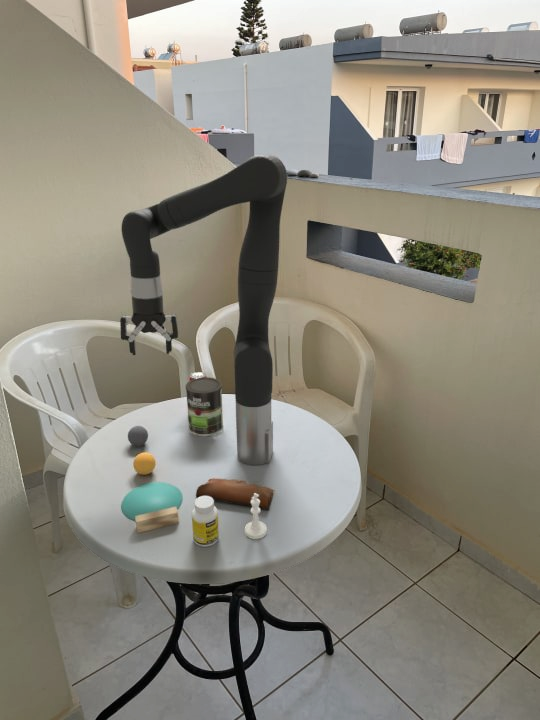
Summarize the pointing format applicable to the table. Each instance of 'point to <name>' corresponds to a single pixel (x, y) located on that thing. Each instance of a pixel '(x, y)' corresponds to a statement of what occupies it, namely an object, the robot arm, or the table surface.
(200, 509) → the supplement bottle
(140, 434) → the gray ball
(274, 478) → the table surface
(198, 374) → the beverage can
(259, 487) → the sunglasses case
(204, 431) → the coffee can
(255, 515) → the chess piece
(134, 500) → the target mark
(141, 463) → the object ball
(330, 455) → the table surface
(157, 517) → the strip
